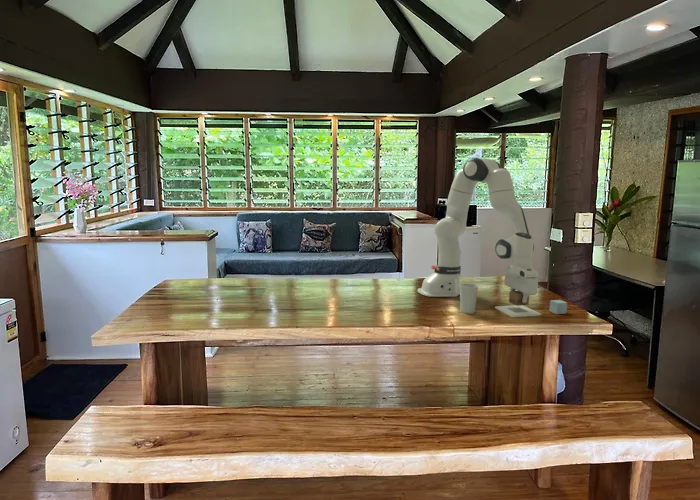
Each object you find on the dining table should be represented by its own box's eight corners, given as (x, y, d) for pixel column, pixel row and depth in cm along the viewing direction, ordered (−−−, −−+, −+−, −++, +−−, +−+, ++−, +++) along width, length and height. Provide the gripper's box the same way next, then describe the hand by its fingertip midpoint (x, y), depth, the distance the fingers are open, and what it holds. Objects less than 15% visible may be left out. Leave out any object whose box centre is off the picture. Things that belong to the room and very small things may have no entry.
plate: (512, 317, 206) (512, 315, 206) (495, 308, 220) (495, 306, 220) (540, 315, 210) (540, 313, 210) (521, 306, 223) (522, 304, 223)
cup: (473, 315, 209) (474, 288, 207) (455, 312, 213) (457, 285, 211) (478, 310, 215) (480, 284, 213) (461, 307, 220) (463, 282, 218)
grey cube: (556, 314, 212) (557, 303, 211) (549, 311, 217) (550, 300, 216) (566, 313, 214) (567, 302, 213) (558, 310, 218) (559, 299, 217)
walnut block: (516, 305, 211) (517, 294, 210) (508, 302, 216) (509, 291, 215) (528, 304, 212) (529, 293, 211) (520, 301, 218) (521, 290, 217)
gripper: (501, 265, 221) (499, 294, 223) (528, 274, 201) (526, 306, 203) (513, 264, 222) (511, 293, 225) (541, 274, 203) (539, 305, 205)
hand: (518, 299), depth 214 cm, fingers closed on walnut block, 6 cm apart
